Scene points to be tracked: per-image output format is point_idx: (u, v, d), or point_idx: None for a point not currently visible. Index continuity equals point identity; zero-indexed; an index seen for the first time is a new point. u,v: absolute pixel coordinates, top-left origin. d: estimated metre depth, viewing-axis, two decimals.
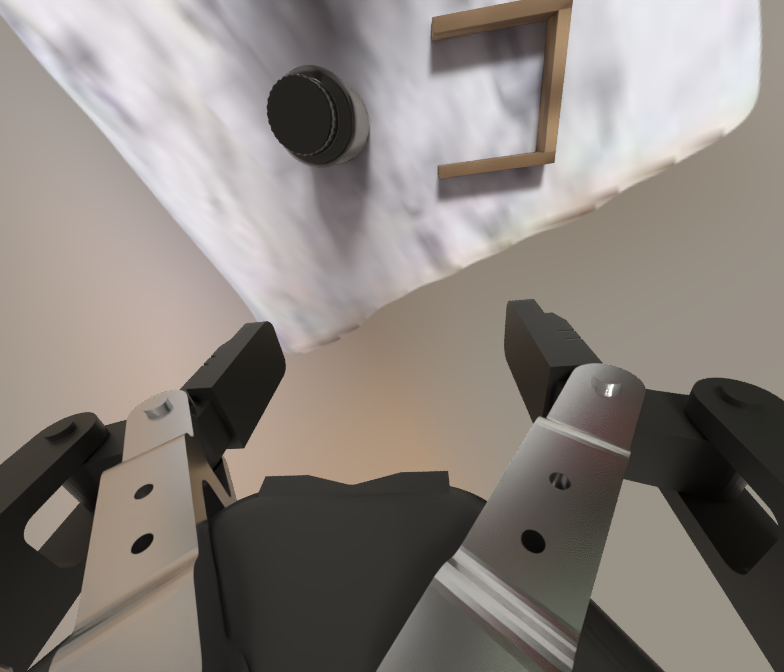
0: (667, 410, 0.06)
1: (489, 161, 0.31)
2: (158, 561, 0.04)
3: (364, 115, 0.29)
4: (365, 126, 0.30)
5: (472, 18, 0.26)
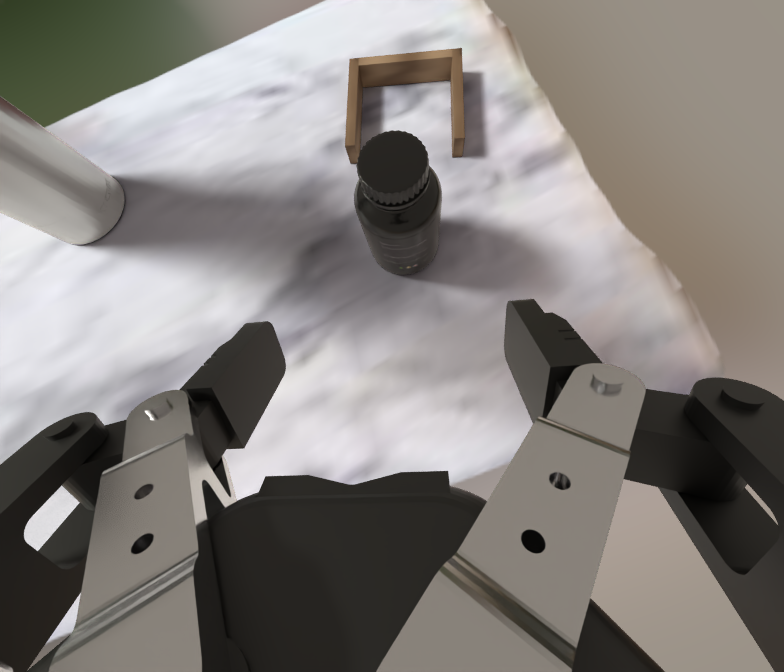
0: (667, 410, 0.06)
1: (454, 97, 0.33)
2: (158, 561, 0.04)
3: None
4: None
5: (351, 118, 0.33)
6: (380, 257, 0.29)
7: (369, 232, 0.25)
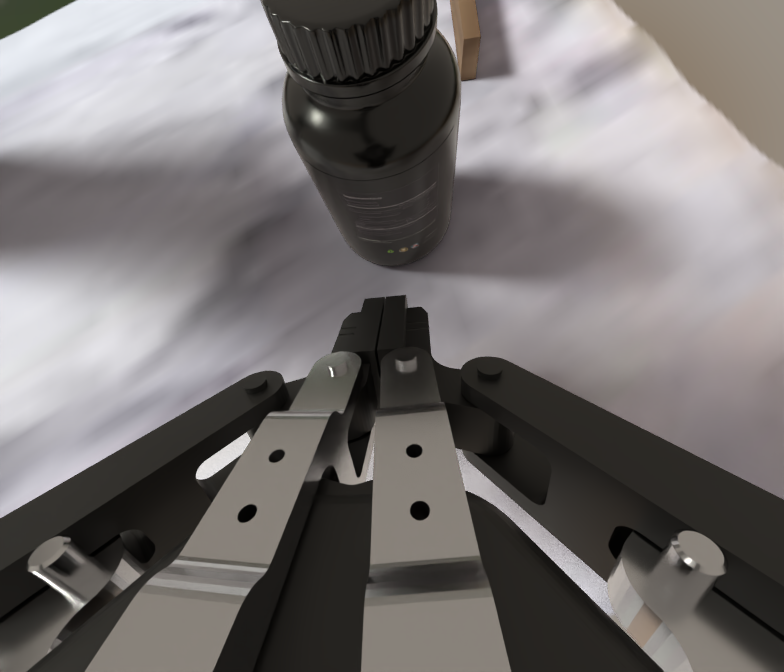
0: (451, 383, 0.07)
1: None
2: (243, 546, 0.04)
3: None
4: None
5: None
6: (352, 234, 0.16)
7: (318, 174, 0.12)
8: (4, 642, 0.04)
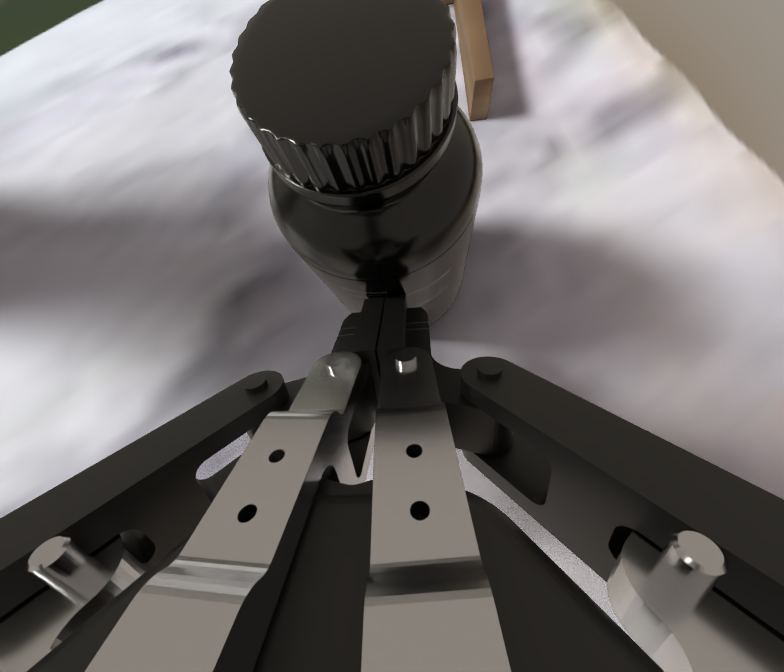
0: (451, 383, 0.07)
1: (466, 14, 0.19)
2: (244, 545, 0.04)
3: None
4: None
5: None
6: (352, 309, 0.14)
7: (313, 267, 0.10)
8: (4, 642, 0.04)
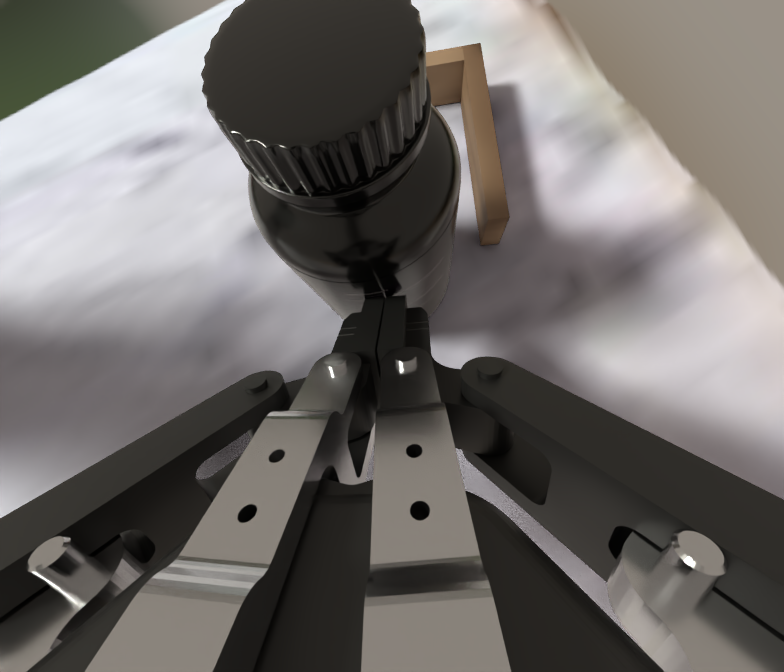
0: (451, 383, 0.07)
1: (477, 136, 0.17)
2: (243, 546, 0.04)
3: None
4: None
5: None
6: None
7: (310, 278, 0.10)
8: (4, 642, 0.04)
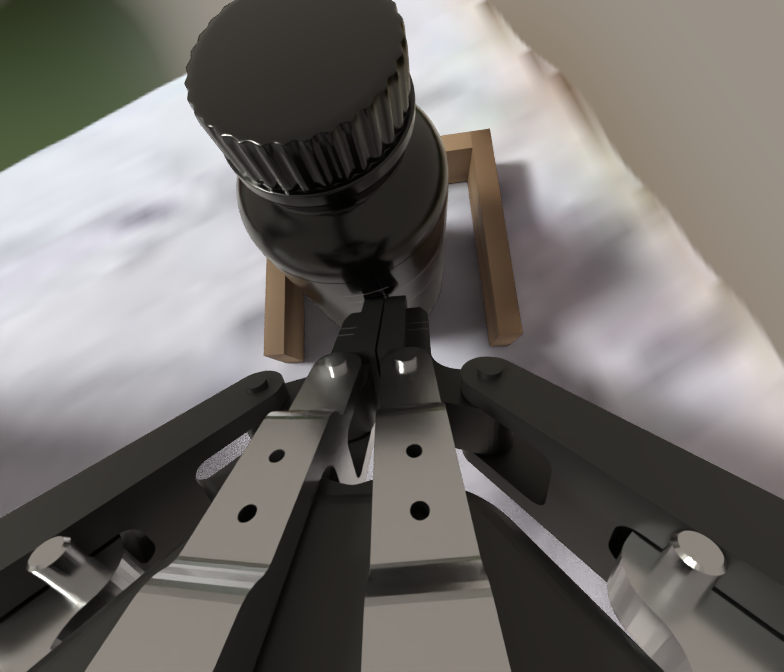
0: (451, 383, 0.07)
1: (487, 237, 0.15)
2: (243, 545, 0.04)
3: None
4: None
5: (275, 291, 0.16)
6: None
7: (309, 284, 0.10)
8: (4, 642, 0.04)
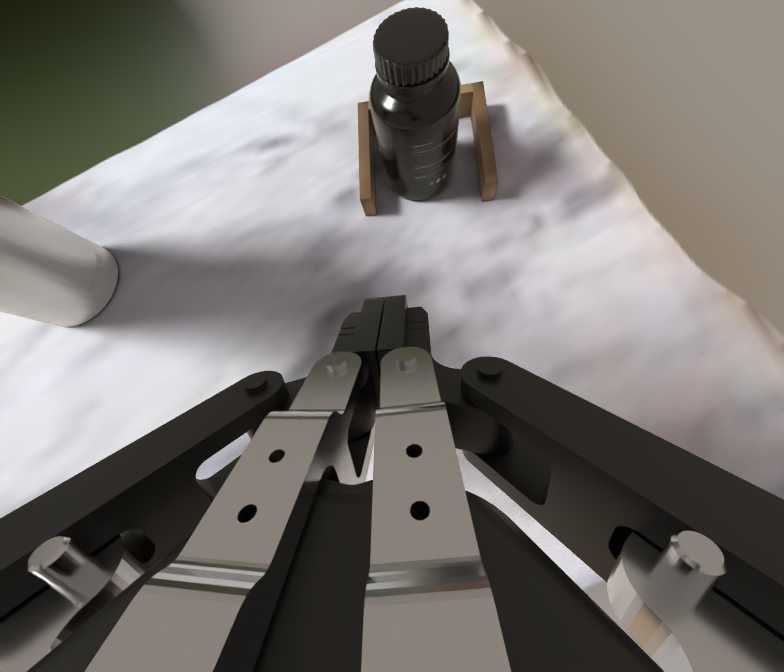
0: (451, 383, 0.07)
1: (480, 136, 0.29)
2: (243, 546, 0.04)
3: None
4: None
5: (364, 168, 0.30)
6: (409, 178, 0.28)
7: (400, 137, 0.24)
8: (4, 642, 0.04)
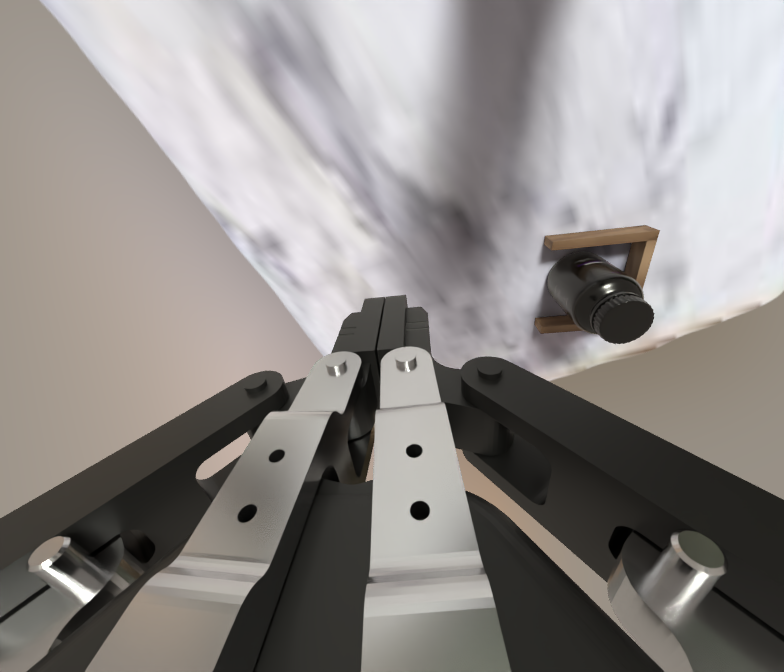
0: (451, 383, 0.07)
1: None
2: (244, 545, 0.04)
3: None
4: None
5: (582, 243, 0.36)
6: (557, 282, 0.37)
7: (573, 294, 0.34)
8: (4, 642, 0.04)
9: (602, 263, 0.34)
